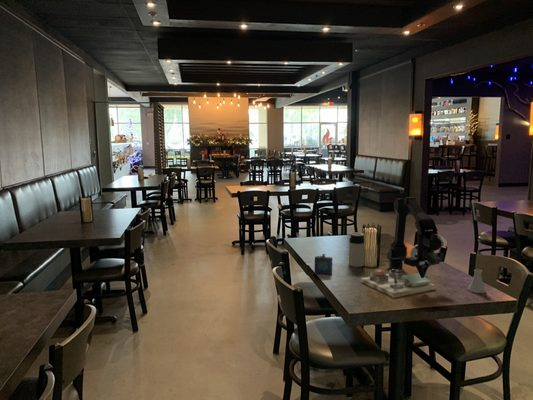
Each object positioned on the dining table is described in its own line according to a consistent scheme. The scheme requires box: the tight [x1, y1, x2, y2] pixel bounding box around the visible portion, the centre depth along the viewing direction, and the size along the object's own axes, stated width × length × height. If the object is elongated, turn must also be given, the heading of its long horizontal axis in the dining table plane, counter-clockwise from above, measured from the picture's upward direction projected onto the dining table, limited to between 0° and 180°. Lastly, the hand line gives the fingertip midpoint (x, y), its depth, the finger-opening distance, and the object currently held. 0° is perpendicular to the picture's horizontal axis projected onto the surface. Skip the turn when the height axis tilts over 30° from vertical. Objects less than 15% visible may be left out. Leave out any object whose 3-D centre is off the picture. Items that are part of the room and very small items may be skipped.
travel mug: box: [348, 231, 365, 268], centre depth 233 cm, size 8×8×18 cm
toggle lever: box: [391, 269, 397, 284], centre depth 194 cm, size 2×2×7 cm
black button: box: [394, 269, 404, 273], centre depth 209 cm, size 4×4×2 cm
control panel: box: [360, 270, 436, 299], centre depth 201 cm, size 23×25×5 cm
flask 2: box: [467, 269, 487, 294], centre depth 193 cm, size 7×7×10 cm
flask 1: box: [314, 253, 333, 276], centre depth 218 cm, size 9×3×11 cm, turn 78°
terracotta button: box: [374, 268, 385, 277], centre depth 203 cm, size 4×4×2 cm
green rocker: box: [401, 272, 432, 287], centre depth 198 cm, size 8×11×1 cm
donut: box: [409, 244, 417, 259], centre depth 241 cm, size 10×4×10 cm, turn 110°
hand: (422, 277), depth 194 cm, fingers closed
